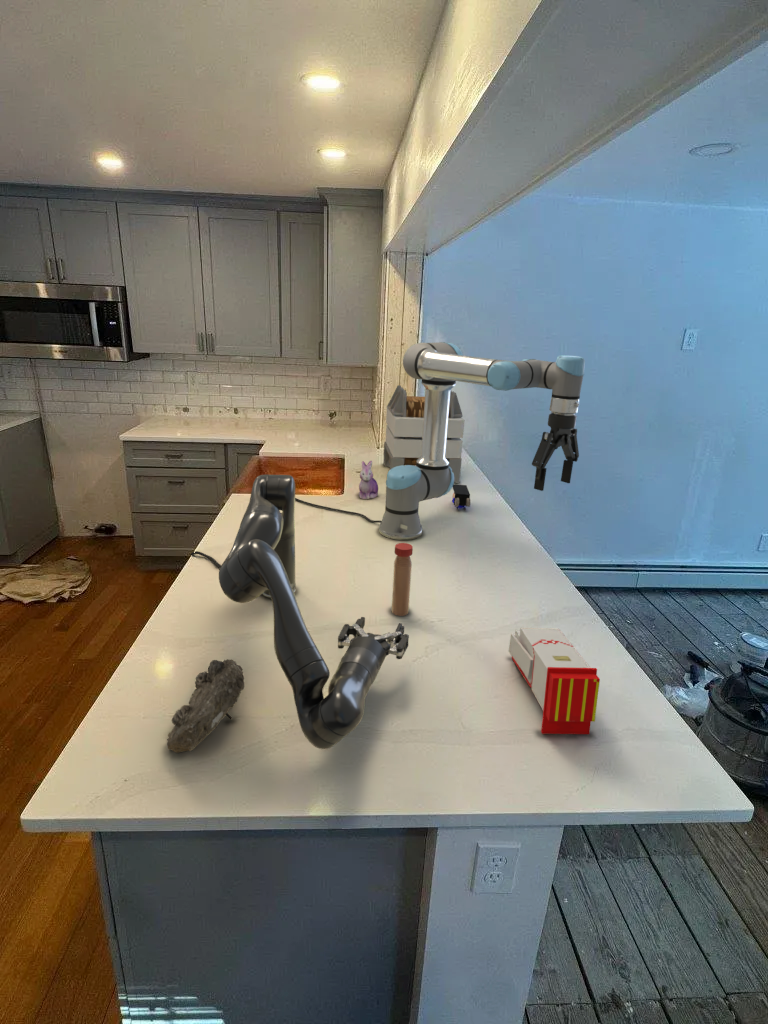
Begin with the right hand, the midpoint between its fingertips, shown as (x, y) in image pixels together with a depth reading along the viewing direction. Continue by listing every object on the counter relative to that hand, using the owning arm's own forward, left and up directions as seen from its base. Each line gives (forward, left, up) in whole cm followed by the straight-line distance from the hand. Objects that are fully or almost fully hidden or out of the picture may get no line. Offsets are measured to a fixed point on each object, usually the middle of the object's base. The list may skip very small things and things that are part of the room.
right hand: (552, 485), depth 166 cm
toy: (+35, -48, -28) cm, 66 cm away
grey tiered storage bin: (-101, +46, -28) cm, 115 cm away
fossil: (0, -107, -28) cm, 110 cm away
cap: (-8, -51, -10) cm, 52 cm away
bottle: (-8, -51, -28) cm, 59 cm away
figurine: (-87, +3, -28) cm, 92 cm away
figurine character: (-56, +26, -28) cm, 68 cm away
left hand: (+5, -69, -19) cm, 72 cm away
